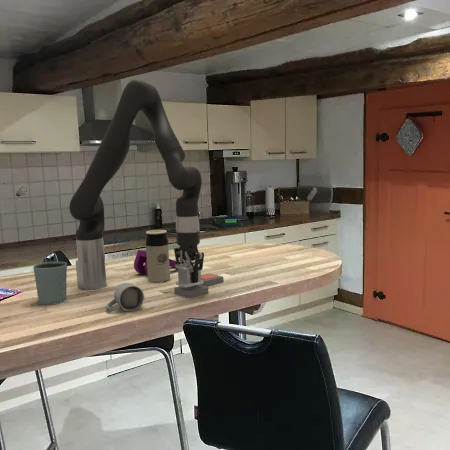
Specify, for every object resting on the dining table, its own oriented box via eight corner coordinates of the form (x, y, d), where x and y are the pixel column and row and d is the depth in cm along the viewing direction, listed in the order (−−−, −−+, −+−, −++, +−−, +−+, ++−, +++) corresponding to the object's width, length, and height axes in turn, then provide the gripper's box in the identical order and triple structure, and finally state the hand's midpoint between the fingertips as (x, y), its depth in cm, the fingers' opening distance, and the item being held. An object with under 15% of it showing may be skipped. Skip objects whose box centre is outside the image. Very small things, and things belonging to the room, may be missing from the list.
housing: (184, 287, 159) (183, 267, 158) (175, 284, 163) (175, 264, 162) (203, 283, 164) (202, 263, 163) (194, 280, 168) (194, 261, 167)
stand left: (188, 298, 159) (188, 292, 158) (174, 293, 165) (174, 287, 164) (208, 293, 164) (208, 287, 163) (194, 288, 170) (193, 282, 169)
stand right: (205, 286, 171) (205, 280, 171) (191, 282, 178) (191, 276, 177) (223, 282, 176) (223, 276, 176) (209, 278, 182) (209, 272, 182)
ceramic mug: (136, 302, 157) (134, 278, 155) (145, 308, 149) (143, 283, 148) (102, 308, 152) (100, 284, 151) (110, 316, 145) (107, 290, 143)
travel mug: (146, 278, 185) (143, 230, 183) (167, 276, 188) (164, 228, 185) (150, 283, 178) (147, 233, 175) (172, 281, 181) (169, 231, 178)
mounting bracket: (166, 282, 203) (131, 270, 191) (172, 262, 205) (138, 249, 192) (181, 285, 196) (145, 274, 184) (187, 265, 198) (152, 252, 186)
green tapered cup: (31, 301, 162) (27, 265, 160) (60, 294, 169) (57, 259, 167) (45, 307, 155) (41, 269, 153) (75, 300, 162) (72, 263, 160)
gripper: (165, 228, 164) (168, 279, 167) (191, 233, 153) (193, 287, 156) (184, 226, 169) (186, 275, 171) (210, 230, 158) (212, 283, 160)
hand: (189, 280), depth 163 cm, fingers closed on housing, 5 cm apart
